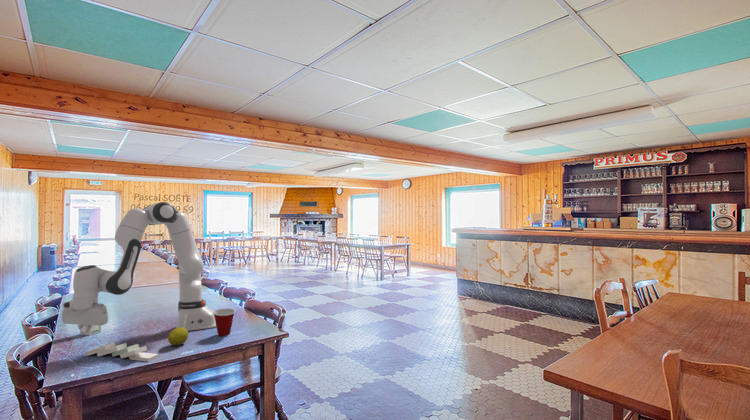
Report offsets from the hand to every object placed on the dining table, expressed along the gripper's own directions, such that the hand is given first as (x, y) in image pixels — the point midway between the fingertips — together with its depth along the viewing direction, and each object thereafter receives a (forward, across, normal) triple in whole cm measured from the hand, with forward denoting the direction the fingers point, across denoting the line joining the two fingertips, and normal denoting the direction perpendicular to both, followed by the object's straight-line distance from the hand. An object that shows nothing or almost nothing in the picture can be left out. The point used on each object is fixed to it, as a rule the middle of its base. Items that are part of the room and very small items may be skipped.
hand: (84, 334), depth 160 cm
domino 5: (+8, -25, 0) cm, 26 cm away
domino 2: (+8, -9, 0) cm, 12 cm away
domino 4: (+7, -21, 0) cm, 23 cm away
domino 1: (+8, -4, 0) cm, 8 cm away
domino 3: (+7, -16, -1) cm, 17 cm away
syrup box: (+9, +23, -24) cm, 35 cm away
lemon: (+8, -33, -16) cm, 38 cm away
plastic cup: (+8, -46, -34) cm, 58 cm away
